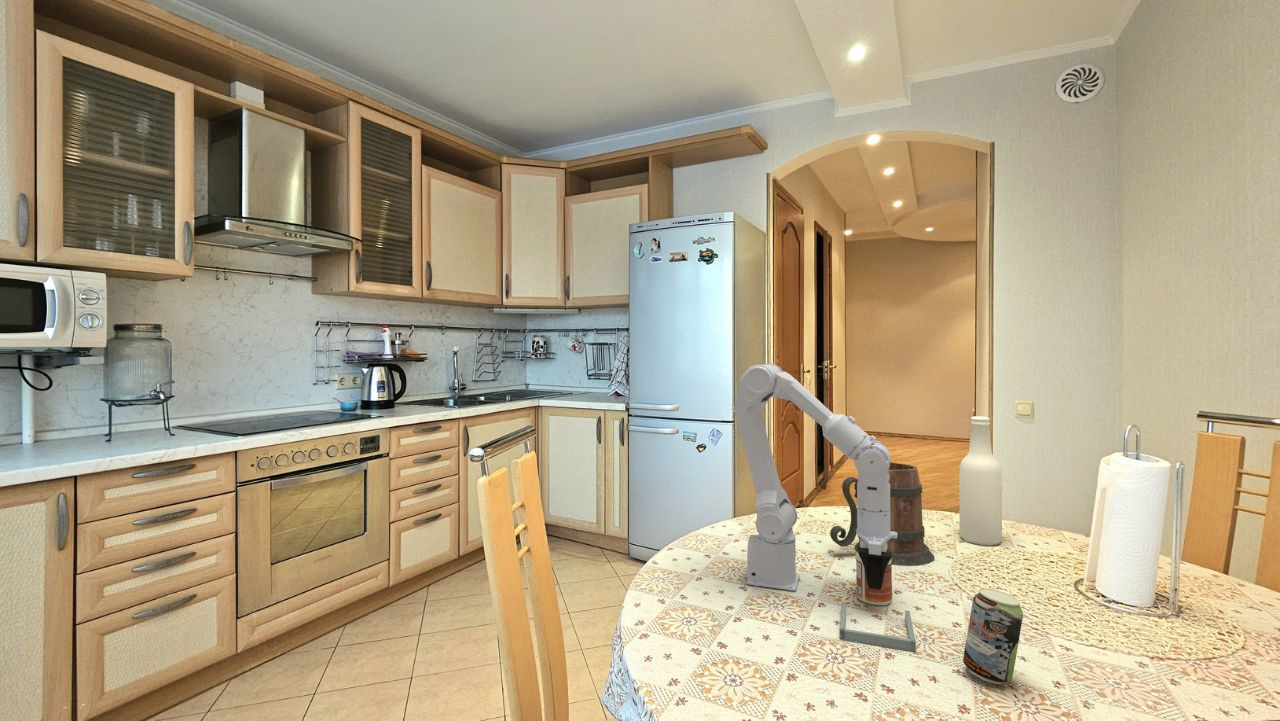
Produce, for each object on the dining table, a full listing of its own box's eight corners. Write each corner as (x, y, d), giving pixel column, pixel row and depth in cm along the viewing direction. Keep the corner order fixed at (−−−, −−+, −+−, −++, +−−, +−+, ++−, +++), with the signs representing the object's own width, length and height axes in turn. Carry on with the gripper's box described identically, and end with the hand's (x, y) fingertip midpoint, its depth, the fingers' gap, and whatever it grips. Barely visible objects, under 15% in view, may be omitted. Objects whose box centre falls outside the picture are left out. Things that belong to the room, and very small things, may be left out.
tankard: (904, 537, 138) (903, 457, 137) (952, 563, 121) (952, 471, 121) (815, 543, 134) (814, 461, 134) (852, 570, 118) (851, 476, 117)
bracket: (840, 639, 90) (840, 630, 90) (841, 609, 100) (841, 601, 100) (915, 651, 86) (915, 642, 86) (909, 619, 96) (909, 610, 96)
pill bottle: (899, 601, 103) (898, 541, 103) (879, 609, 100) (879, 548, 100) (869, 589, 108) (868, 532, 108) (849, 597, 105) (849, 538, 105)
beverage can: (953, 666, 82) (953, 585, 82) (1000, 663, 83) (1000, 582, 82) (983, 692, 76) (983, 604, 75) (1034, 688, 76) (1034, 602, 76)
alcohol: (1010, 546, 131) (1010, 419, 130) (972, 546, 131) (972, 419, 130) (987, 534, 139) (987, 414, 139) (952, 534, 140) (951, 415, 139)
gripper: (899, 521, 96) (900, 599, 96) (894, 499, 109) (895, 568, 109) (855, 517, 98) (856, 593, 98) (856, 496, 112) (856, 563, 112)
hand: (874, 580), depth 104 cm, fingers open, 7 cm apart
